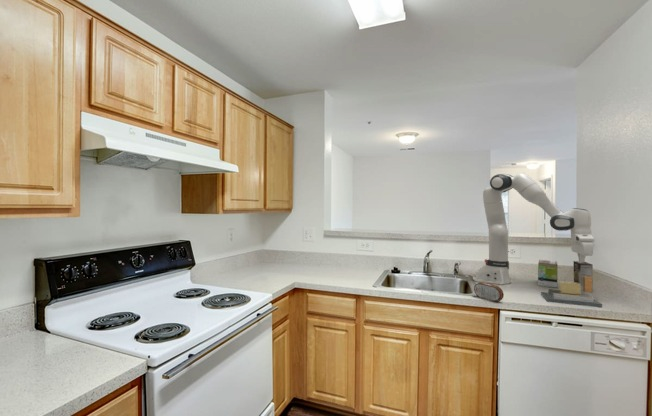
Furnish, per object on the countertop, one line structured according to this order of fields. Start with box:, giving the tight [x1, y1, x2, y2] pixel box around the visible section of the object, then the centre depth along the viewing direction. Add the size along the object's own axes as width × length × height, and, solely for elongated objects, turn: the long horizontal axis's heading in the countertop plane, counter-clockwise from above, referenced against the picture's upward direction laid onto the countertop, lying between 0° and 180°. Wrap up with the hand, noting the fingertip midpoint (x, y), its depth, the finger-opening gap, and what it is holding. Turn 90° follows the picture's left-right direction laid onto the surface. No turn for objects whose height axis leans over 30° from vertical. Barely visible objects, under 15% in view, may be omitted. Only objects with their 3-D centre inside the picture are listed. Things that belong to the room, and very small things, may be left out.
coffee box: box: [573, 260, 594, 293], centre depth 178 cm, size 9×6×16 cm
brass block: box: [558, 280, 581, 295], centre depth 156 cm, size 4×8×8 cm, turn 66°
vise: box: [540, 291, 603, 308], centre depth 156 cm, size 22×14×4 cm, turn 66°
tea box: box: [537, 259, 559, 289], centre depth 190 cm, size 15×10×15 cm, turn 143°
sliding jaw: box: [546, 276, 593, 297], centre depth 161 cm, size 19×2×10 cm, turn 66°
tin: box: [473, 282, 504, 303], centre depth 158 cm, size 15×3×8 cm, turn 30°
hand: (581, 261), depth 166 cm, fingers closed
